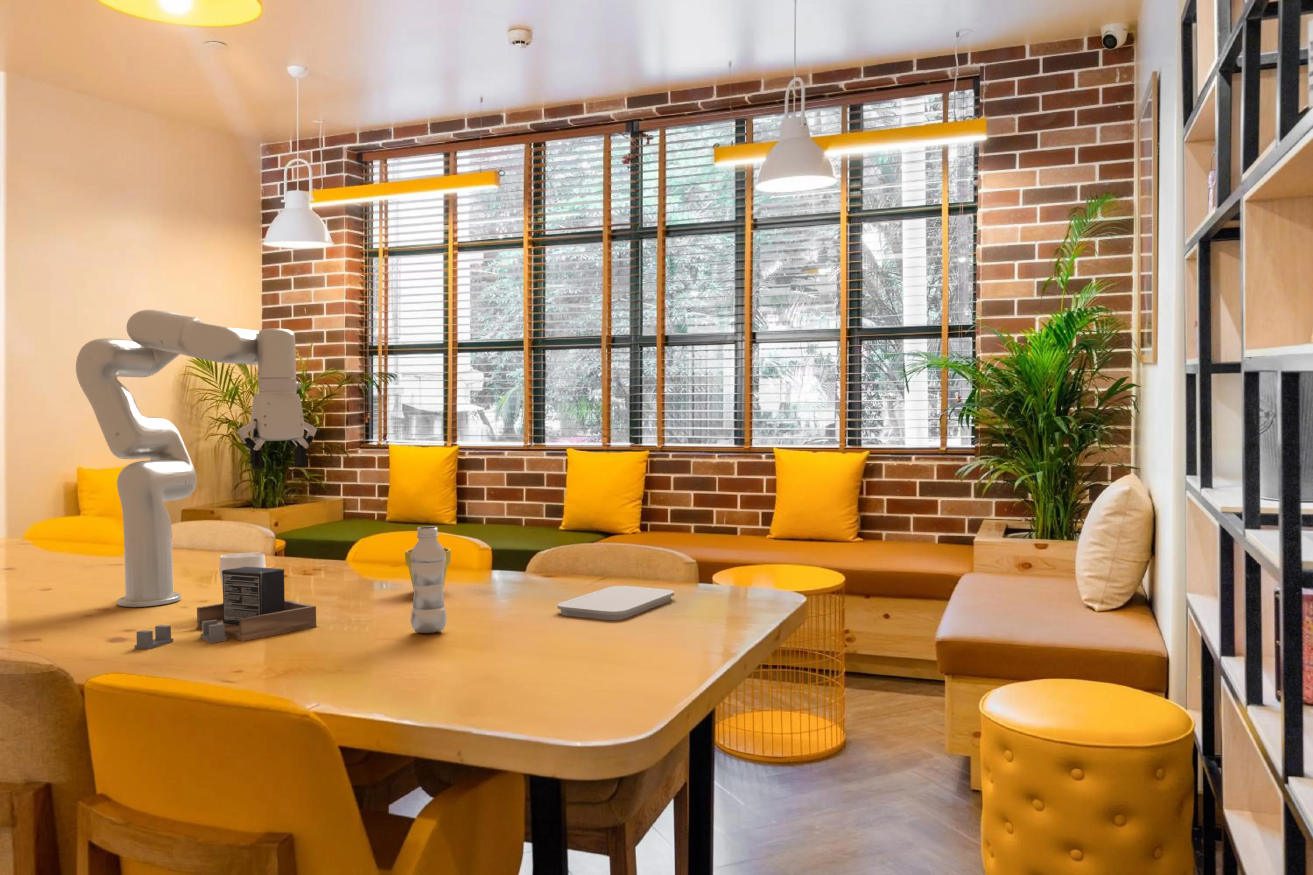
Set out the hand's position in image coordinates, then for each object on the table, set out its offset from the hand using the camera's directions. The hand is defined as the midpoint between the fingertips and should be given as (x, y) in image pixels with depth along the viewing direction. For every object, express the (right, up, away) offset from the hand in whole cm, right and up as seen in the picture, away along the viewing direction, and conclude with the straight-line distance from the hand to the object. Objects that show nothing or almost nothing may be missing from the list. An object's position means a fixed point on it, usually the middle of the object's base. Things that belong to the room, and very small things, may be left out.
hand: (279, 467), depth 209 cm
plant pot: (+27, -30, +20) cm, 45 cm away
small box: (+1, -30, -16) cm, 34 cm away
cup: (-7, -31, 0) cm, 31 cm away
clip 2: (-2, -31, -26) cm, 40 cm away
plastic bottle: (+37, -31, -22) cm, 53 cm away
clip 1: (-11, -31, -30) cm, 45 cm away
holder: (+2, -31, -16) cm, 35 cm away
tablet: (+72, -30, 0) cm, 78 cm away
